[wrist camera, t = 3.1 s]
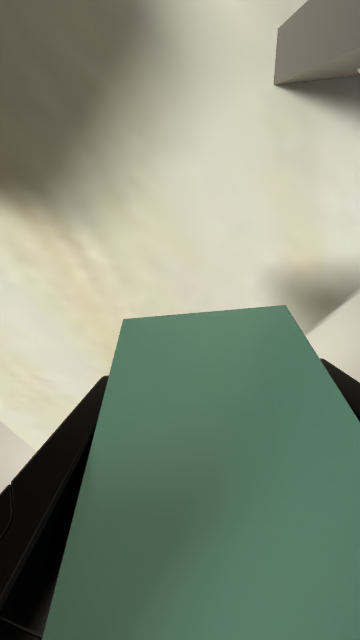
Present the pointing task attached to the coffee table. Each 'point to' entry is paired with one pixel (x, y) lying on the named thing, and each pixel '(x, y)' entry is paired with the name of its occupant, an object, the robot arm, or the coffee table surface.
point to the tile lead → (215, 490)
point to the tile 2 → (319, 42)
